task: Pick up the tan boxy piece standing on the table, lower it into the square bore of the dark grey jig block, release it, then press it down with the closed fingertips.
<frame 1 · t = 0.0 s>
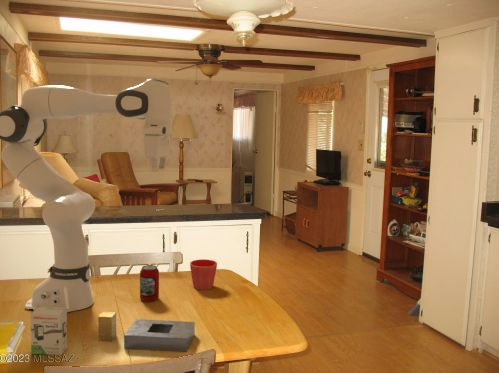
hand: (158, 170, 170), 48 cm above the table, fingers open, 8 cm apart
beverage can: (149, 299, 185), on the table
flower pot: (203, 287, 201), on the table
ink box: (49, 351, 142), on the table
jig: (160, 341, 150), on the table
tan boxy piece: (107, 338, 151), on the table
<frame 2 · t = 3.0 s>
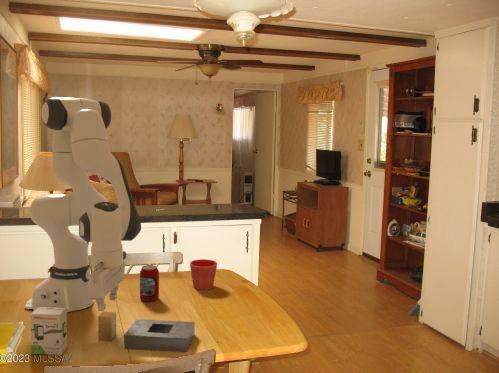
hand: (107, 304, 149), 10 cm above the table, fingers open, 8 cm apart
nothing on the table moved.
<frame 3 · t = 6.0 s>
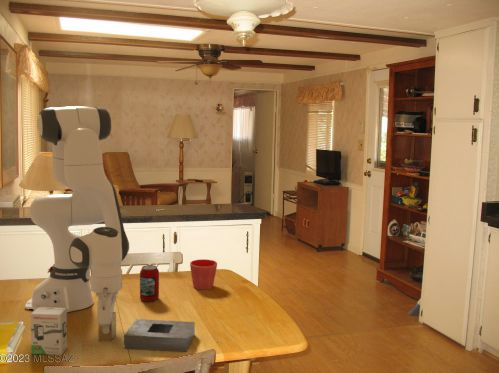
hand: (107, 328, 150), 3 cm above the table, fingers closed on tan boxy piece, 5 cm apart
tan boxy piece: (107, 338, 151), on the table, touching gripper
everything else where it was.
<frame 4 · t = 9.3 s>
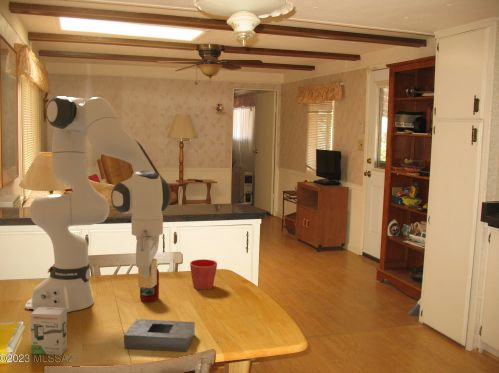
hand: (147, 275, 147), 20 cm above the table, fingers closed on tan boxy piece, 5 cm apart
tan boxy piece: (147, 285, 147), point 17 cm above the table, touching gripper
everything else where it was.
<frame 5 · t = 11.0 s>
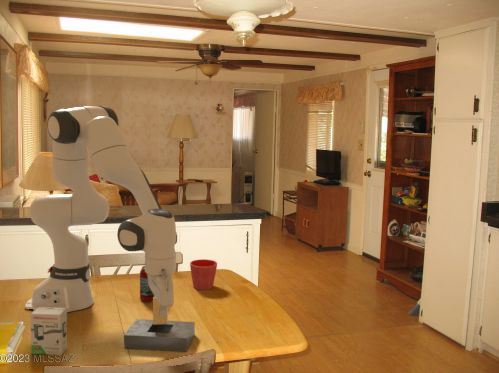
hand: (160, 311, 148), 9 cm above the table, fingers closed on tan boxy piece, 5 cm apart
tan boxy piece: (160, 321, 149), point 6 cm above the table, touching gripper
everything else where it was.
when the fingers open (5 cm above the table, at t = 12.5 s): tan boxy piece drops 2 cm, resting in jig.
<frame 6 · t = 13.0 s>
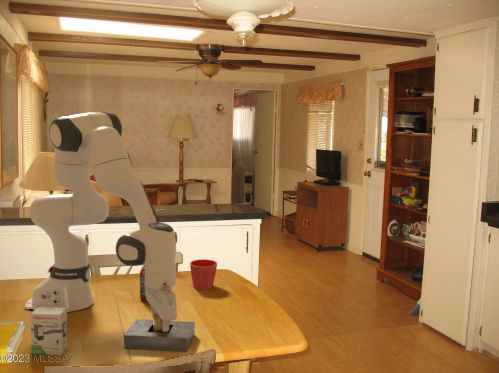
hand: (160, 324, 149), 5 cm above the table, fingers open, 8 cm apart
tan boxy piece: (160, 341, 150), resting in jig
everything else where it was.
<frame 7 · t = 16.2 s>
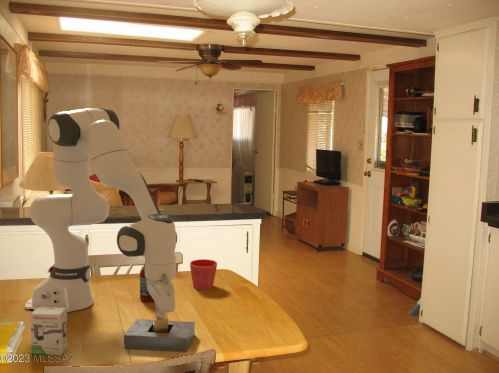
hand: (160, 316, 149), 8 cm above the table, fingers closed
nothing on the table moved.
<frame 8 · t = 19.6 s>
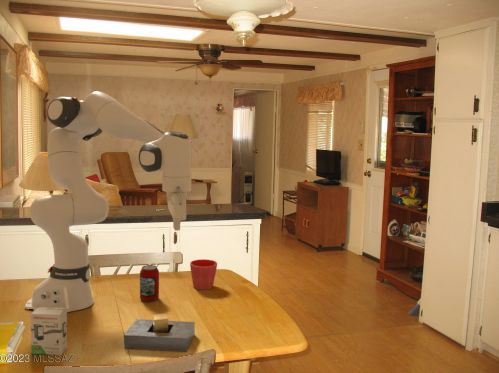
hand: (176, 229, 158), 31 cm above the table, fingers closed
nothing on the table moved.
at the end: tan boxy piece 0.1 cm off-centre on the jig, point 0.0 cm above the jig's base; tan boxy piece tilted 0°; the gripper is holding nothing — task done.
